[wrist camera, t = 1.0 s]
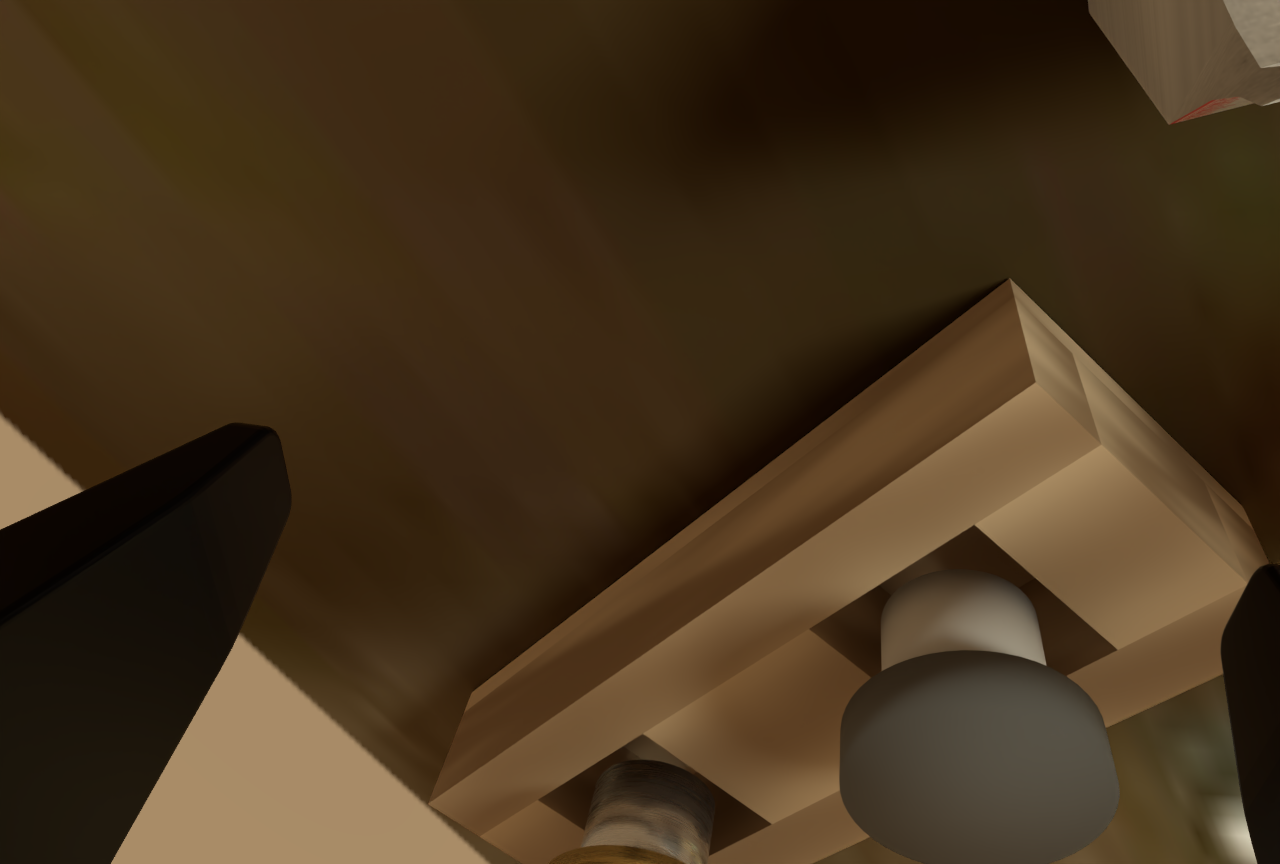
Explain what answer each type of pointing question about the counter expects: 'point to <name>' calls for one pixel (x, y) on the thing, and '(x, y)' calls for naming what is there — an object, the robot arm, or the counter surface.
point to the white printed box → (1197, 51)
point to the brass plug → (646, 817)
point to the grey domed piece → (973, 733)
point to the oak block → (865, 594)
